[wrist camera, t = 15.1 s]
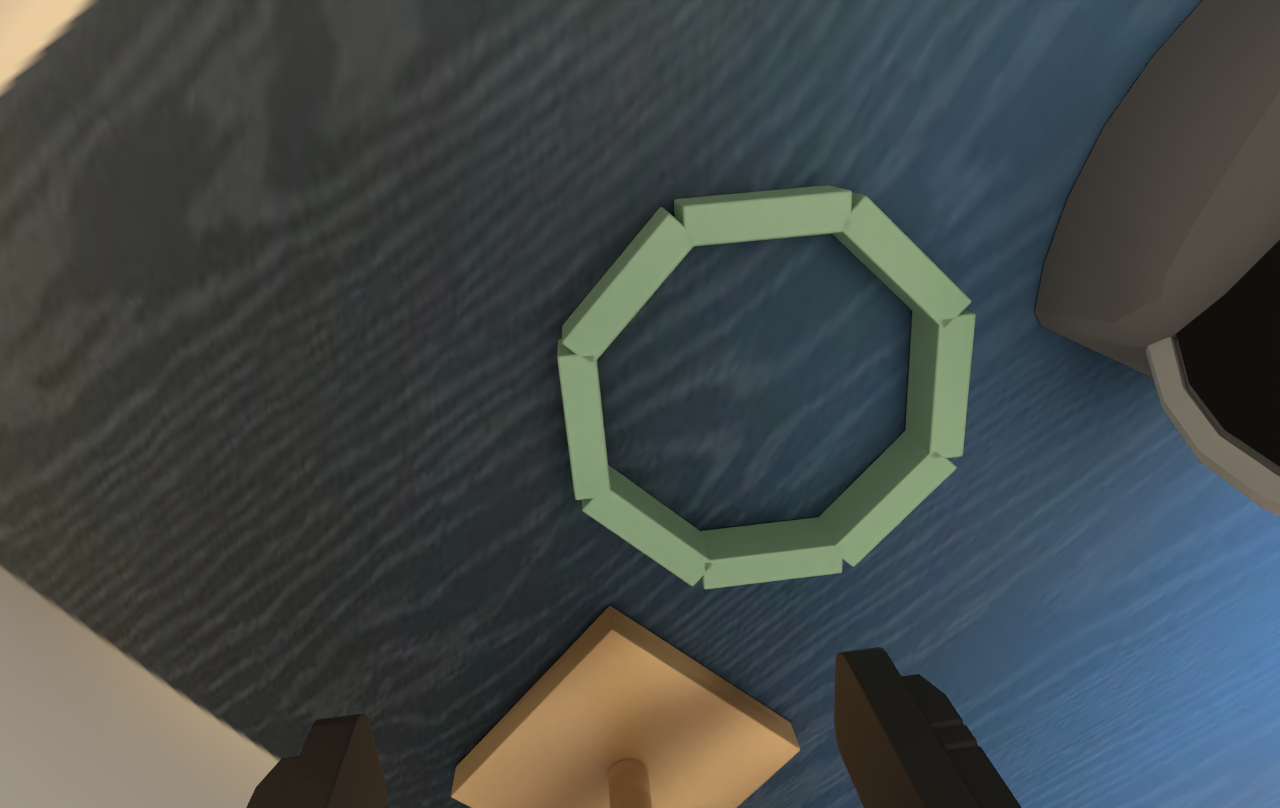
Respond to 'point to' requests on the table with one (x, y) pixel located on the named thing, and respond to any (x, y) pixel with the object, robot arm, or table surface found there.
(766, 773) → the peg stand
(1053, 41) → the table surface
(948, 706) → the robot arm
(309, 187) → the table surface
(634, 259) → the hoop
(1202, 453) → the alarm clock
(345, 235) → the table surface
